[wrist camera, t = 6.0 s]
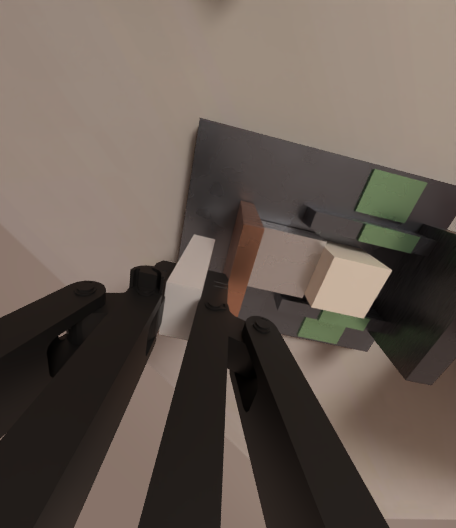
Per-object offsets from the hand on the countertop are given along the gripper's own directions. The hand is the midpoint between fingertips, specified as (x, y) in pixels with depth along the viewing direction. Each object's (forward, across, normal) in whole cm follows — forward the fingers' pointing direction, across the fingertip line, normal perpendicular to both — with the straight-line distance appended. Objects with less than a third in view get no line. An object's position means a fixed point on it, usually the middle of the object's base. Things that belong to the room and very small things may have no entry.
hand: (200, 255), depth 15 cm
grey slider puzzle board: (+5, +8, 0) cm, 9 cm away
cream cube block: (+3, +10, 0) cm, 11 cm away
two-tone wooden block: (+3, +5, 0) cm, 6 cm away
